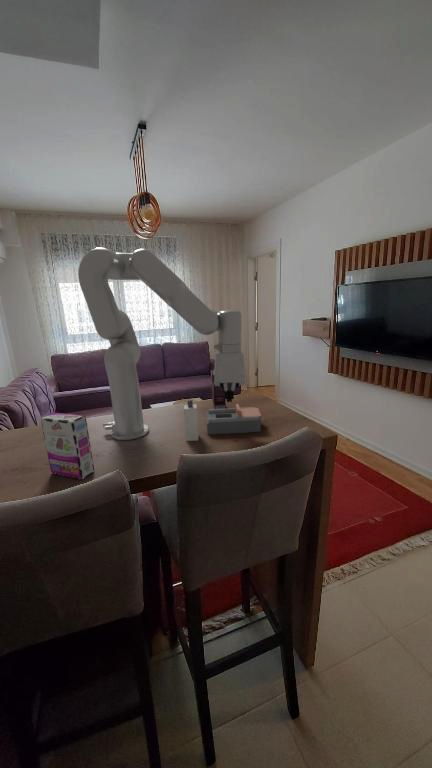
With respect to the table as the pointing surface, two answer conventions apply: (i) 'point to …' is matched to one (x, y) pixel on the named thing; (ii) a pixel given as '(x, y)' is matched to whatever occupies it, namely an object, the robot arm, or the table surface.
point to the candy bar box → (68, 444)
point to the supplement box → (217, 394)
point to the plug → (191, 421)
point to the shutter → (247, 412)
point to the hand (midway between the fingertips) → (229, 400)
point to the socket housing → (231, 422)
